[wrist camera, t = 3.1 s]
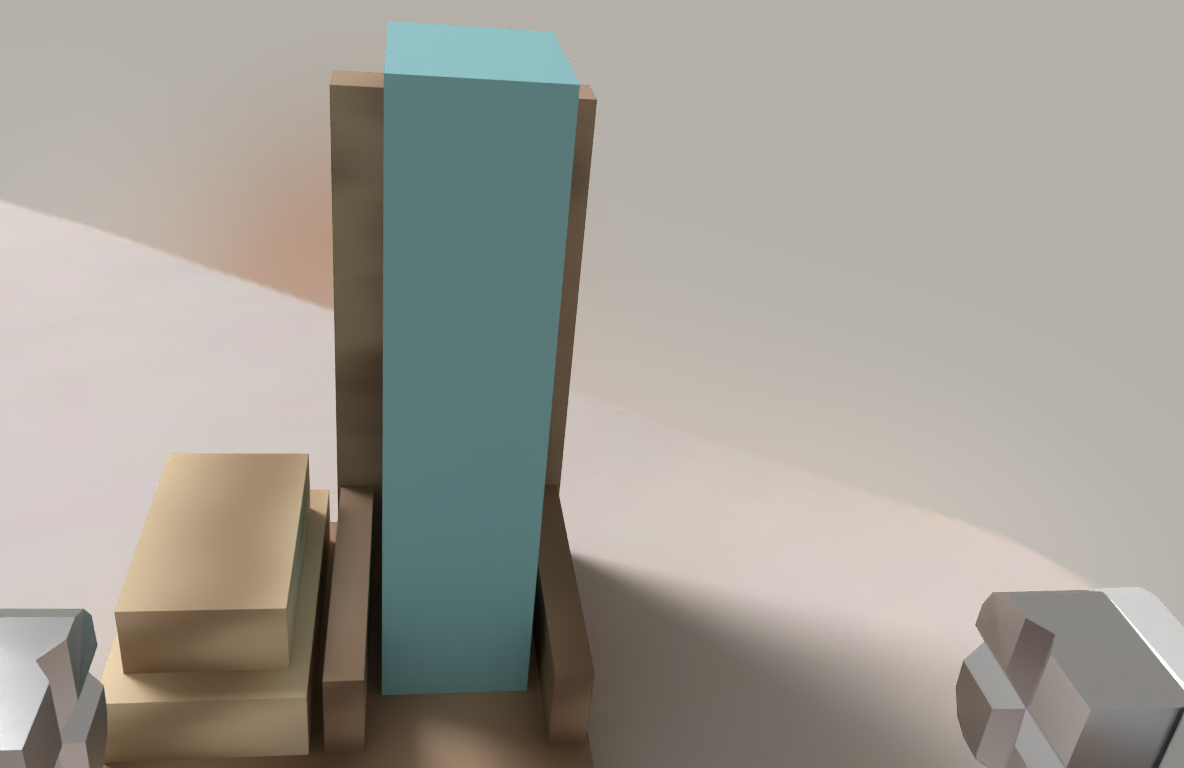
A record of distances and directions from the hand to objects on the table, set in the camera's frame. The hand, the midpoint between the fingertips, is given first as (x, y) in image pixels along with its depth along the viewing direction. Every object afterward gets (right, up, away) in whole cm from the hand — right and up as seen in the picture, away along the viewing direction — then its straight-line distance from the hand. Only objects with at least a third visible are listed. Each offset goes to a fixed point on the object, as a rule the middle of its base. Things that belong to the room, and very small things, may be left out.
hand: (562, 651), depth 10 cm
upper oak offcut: (-10, -3, +21) cm, 23 cm away
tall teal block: (-4, -5, +23) cm, 24 cm away
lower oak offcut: (-10, -5, +22) cm, 25 cm away
